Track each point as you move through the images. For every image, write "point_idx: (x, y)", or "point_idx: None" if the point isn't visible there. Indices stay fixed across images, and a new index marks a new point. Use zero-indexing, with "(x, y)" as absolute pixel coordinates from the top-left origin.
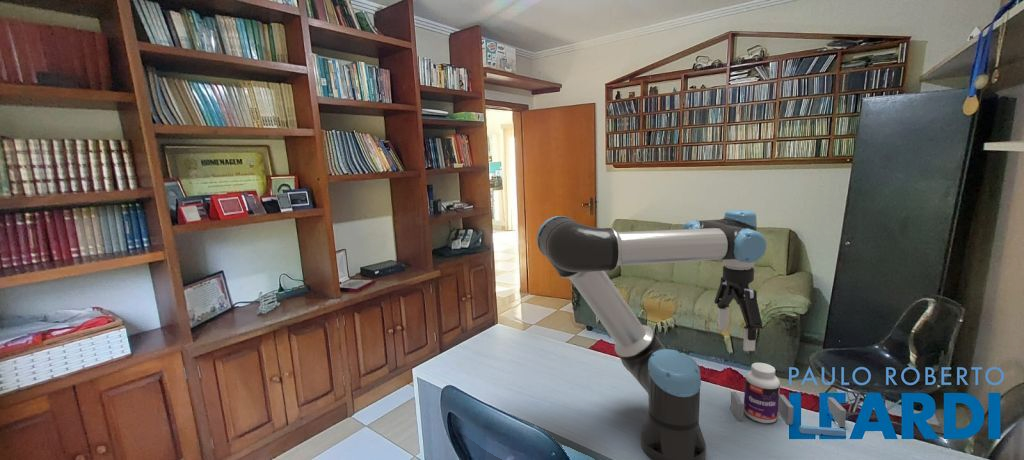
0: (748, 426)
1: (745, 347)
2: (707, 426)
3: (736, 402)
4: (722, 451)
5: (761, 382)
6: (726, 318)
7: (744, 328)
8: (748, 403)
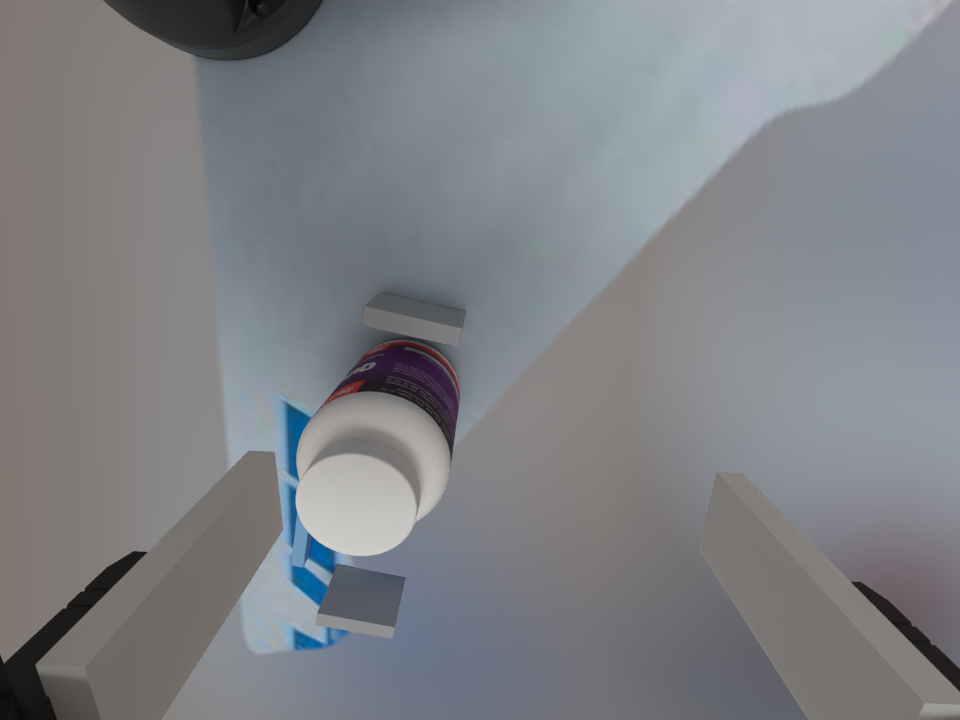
0: (348, 312)
1: (230, 475)
2: (351, 150)
3: (390, 310)
4: (200, 130)
5: (309, 435)
6: (776, 635)
7: (99, 642)
8: (382, 355)
